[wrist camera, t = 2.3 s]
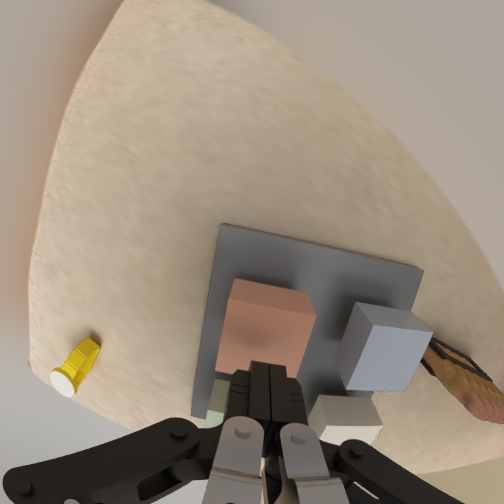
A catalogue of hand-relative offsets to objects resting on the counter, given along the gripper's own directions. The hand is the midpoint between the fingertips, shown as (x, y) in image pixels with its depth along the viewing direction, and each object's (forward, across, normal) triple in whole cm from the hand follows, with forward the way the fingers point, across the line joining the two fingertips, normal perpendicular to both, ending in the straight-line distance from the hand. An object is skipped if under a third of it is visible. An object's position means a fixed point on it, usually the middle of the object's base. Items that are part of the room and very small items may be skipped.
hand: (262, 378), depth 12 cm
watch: (+10, +15, +10) cm, 21 cm away
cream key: (+7, -8, +8) cm, 13 cm away
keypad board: (+10, -4, +4) cm, 12 cm away
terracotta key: (+7, 0, 0) cm, 7 cm away
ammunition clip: (+10, -19, +3) cm, 22 cm away
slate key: (+7, -8, 0) cm, 11 cm away
